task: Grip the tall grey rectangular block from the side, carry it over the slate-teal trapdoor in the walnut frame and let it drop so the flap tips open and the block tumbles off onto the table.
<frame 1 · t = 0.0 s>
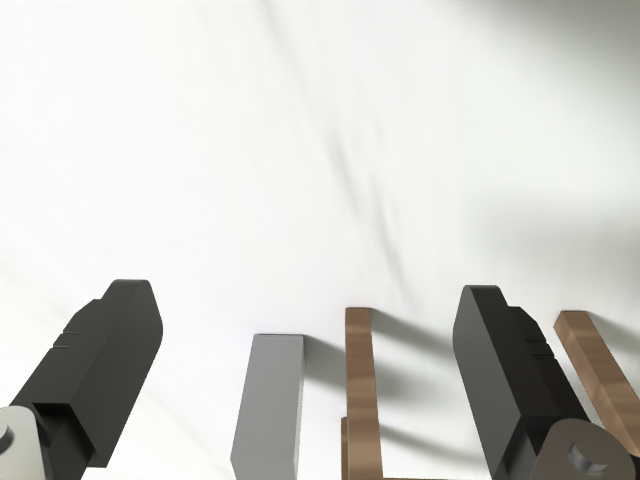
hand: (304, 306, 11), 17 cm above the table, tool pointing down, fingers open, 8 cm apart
grey rectangular block: (280, 350, 40), on the table
trapdoor frame: (444, 378, 42), on the table
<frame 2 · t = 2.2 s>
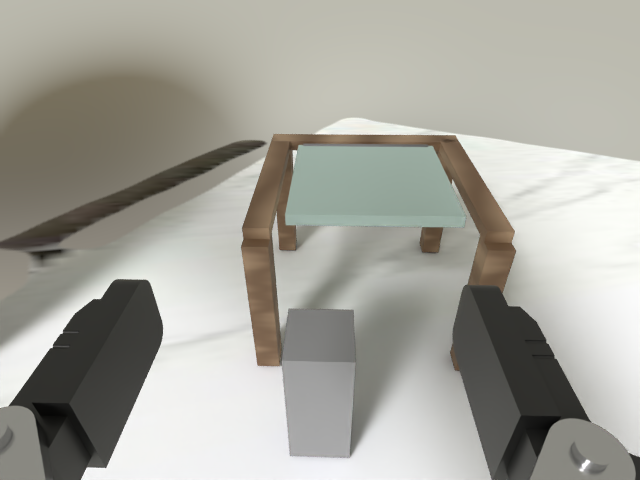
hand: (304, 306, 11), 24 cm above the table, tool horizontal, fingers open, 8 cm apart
grey rectangular block: (320, 428, 34), on the table
trapdoor: (368, 178, 39), point 14 cm above the table, hinge at 0.0°
trapdoor frame: (361, 294, 47), on the table
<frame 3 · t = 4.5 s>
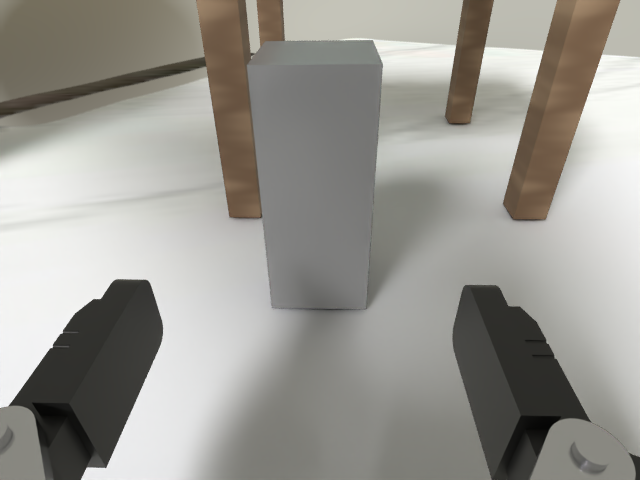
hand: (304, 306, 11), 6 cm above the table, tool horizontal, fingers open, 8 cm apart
grey rectangular block: (320, 278, 22), on the table
trapdoor frame: (373, 155, 35), on the table
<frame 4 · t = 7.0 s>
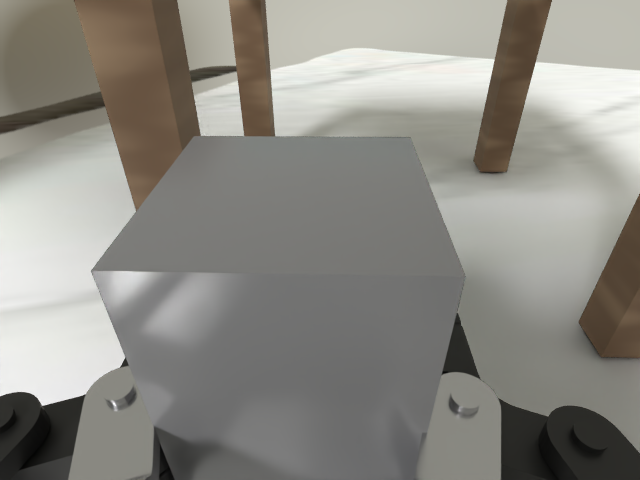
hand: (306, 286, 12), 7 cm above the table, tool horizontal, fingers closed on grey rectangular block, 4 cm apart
trapdoor frame: (386, 226, 26), on the table
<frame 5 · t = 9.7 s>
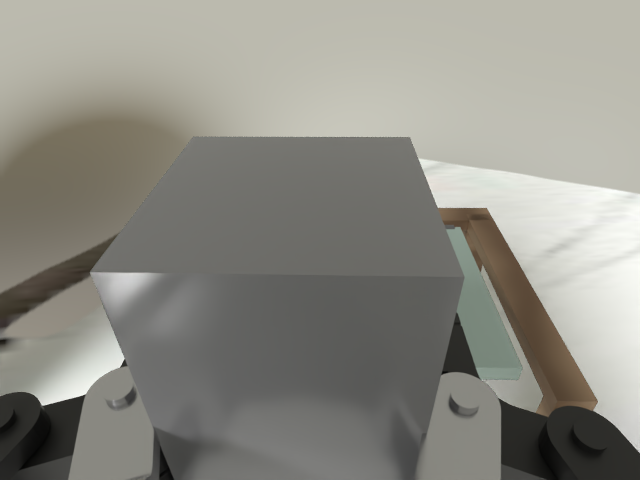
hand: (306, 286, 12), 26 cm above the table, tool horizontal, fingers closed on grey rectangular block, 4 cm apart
trapdoor: (380, 285, 29), point 14 cm above the table, hinge at 0.0°
trapdoor frame: (371, 408, 37), on the table
when the fingers open (23 cm above the table, at t = 12.5 s): grey rectangular block drops 15 cm and tips over, point 2 cm above the table.
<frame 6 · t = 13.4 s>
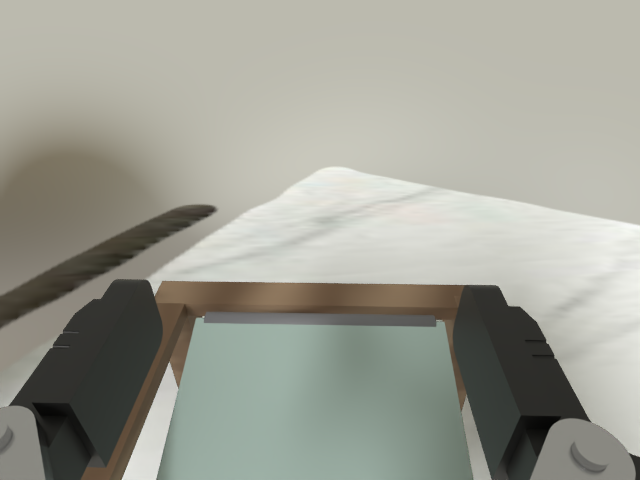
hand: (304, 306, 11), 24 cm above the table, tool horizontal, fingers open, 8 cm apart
trapdoor: (315, 451, 20), point 12 cm above the table, hinge at -15.2°
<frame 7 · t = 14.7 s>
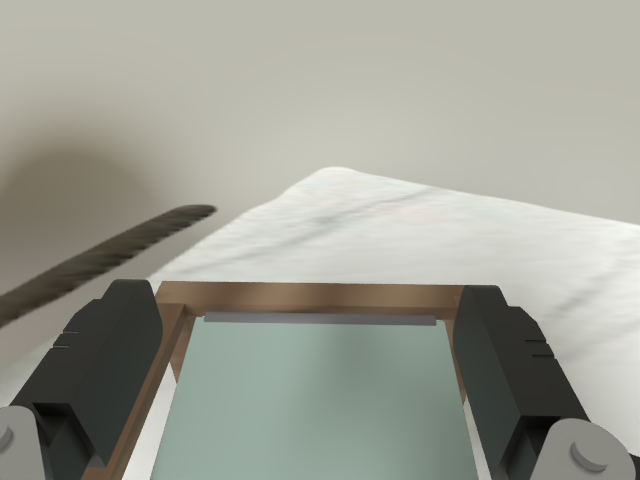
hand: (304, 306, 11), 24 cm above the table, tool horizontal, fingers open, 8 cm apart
trapdoor: (315, 447, 19), point 13 cm above the table, hinge at -10.0°
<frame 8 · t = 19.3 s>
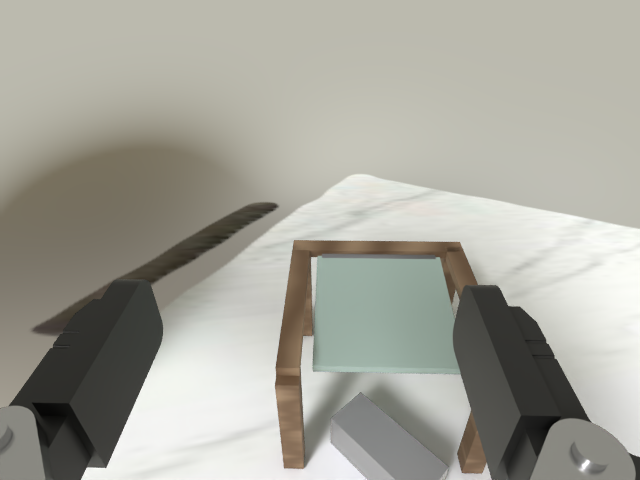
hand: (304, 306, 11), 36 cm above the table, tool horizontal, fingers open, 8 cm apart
grey rectangular block: (345, 417, 46), point 2 cm above the table, tilted 90°
trapdoor: (382, 306, 44), point 13 cm above the table, hinge at -9.3°
trapdoor frame: (374, 386, 51), on the table
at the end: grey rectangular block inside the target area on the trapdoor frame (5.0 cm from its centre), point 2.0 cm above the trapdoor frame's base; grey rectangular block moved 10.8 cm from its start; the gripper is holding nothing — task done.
